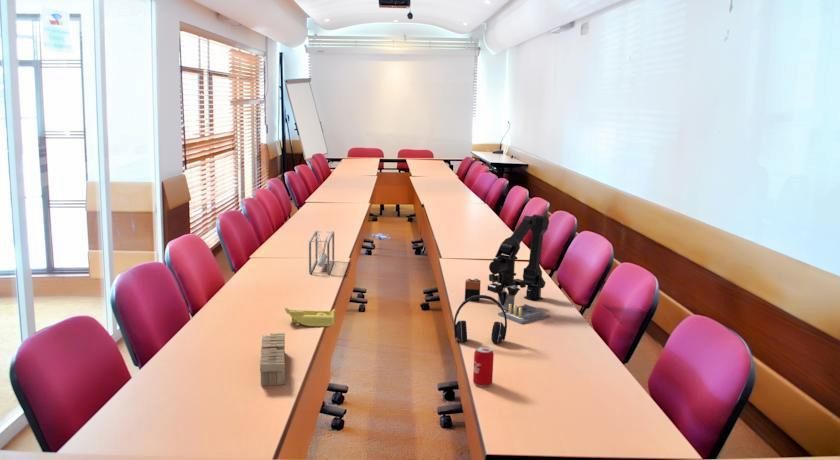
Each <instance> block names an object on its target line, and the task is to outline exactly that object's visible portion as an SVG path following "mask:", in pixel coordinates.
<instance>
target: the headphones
mask: <svg viewBox="0 0 840 460" xmlns="http://www.w3.org/2000/svg"><path fill="white" fill-rule="evenodd" d="M473 299H485V300H490V301H491V302H493V303H495V304H496V305H497V307H498V306H499V307H498V308H500V309H501V312H503V314H504V317H505V318H504V317H503V318H504V323H503V322H502V321H494V322H493V326H492V328H491V338H490V339H491V342H492V343H496V344H500V343H501V342H502V341H505V339H506V335H507V328H508V321H507V320H508V319H507V318H506V314H505V311H506V310H505V309H503V308H502V306H501V304H500V303H499V302H498V300H497V299H495V298H494V297H492V296H490V295H486V294H485V295H484V294H480V295H475V296H471V297H469V298H468V299H466V300H465V299H464V301H463V302H462V303H461V304H460V305H459V307H458V308H457V310H456V313H455V315H454V317H453V318H454V319H453V330H454V339H455V340H456V339H457V341H458V342H461V343H462V342H463V343H464V342H467V341H468V330H467V328H468V327H467V321H466V320H458V321H457V318H458V315H459V312H460V311H461V309H462V308H463V307H464V306H465V305H466V304H467V303H469V302H472V301H471V300H473Z"/></svg>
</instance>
